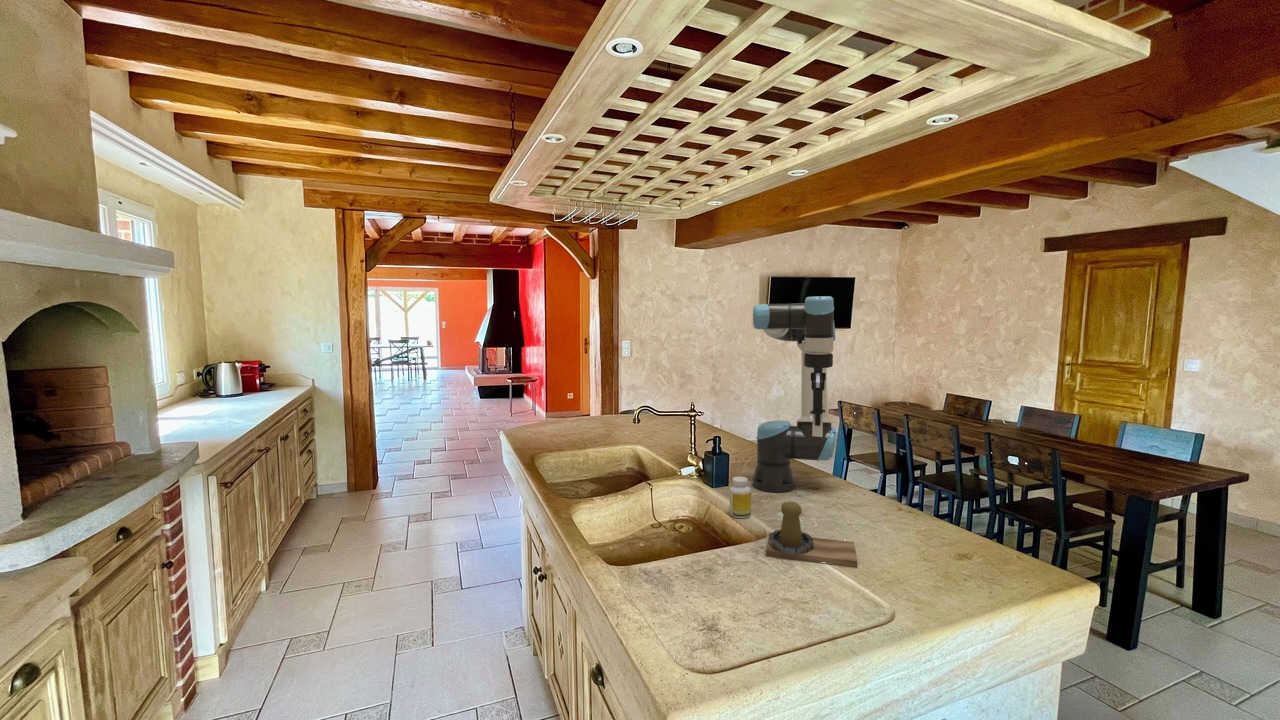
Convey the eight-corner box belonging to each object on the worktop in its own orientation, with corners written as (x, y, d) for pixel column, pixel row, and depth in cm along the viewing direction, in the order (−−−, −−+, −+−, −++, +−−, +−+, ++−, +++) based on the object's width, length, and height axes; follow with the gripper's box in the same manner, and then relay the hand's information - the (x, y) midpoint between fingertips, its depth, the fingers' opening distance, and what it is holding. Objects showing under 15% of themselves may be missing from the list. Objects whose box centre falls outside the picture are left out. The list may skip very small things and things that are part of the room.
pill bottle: (752, 518, 159) (752, 482, 158) (731, 519, 159) (731, 482, 158) (748, 510, 166) (748, 475, 164) (728, 511, 166) (728, 475, 165)
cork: (800, 538, 141) (800, 499, 140) (804, 548, 135) (805, 507, 134) (777, 537, 142) (777, 498, 141) (781, 547, 136) (781, 507, 135)
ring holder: (770, 532, 145) (770, 527, 145) (813, 537, 142) (813, 532, 142) (767, 550, 135) (767, 545, 135) (813, 556, 131) (813, 550, 131)
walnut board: (769, 538, 146) (769, 532, 145) (853, 547, 139) (854, 542, 138) (766, 556, 135) (766, 550, 135) (857, 567, 128) (857, 561, 128)
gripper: (805, 349, 150) (804, 429, 153) (803, 355, 138) (802, 441, 141) (832, 350, 148) (831, 430, 150) (833, 355, 135) (831, 443, 138)
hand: (817, 435), depth 146 cm, fingers closed
